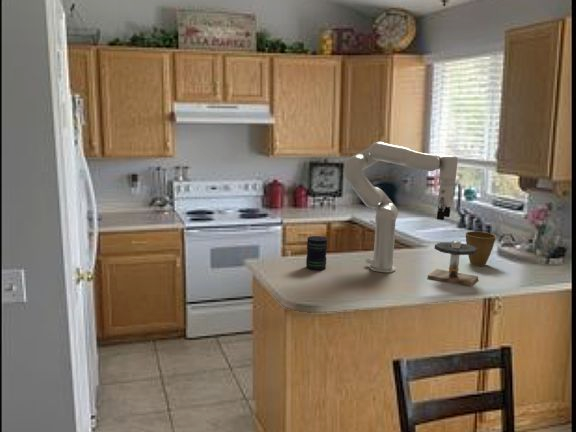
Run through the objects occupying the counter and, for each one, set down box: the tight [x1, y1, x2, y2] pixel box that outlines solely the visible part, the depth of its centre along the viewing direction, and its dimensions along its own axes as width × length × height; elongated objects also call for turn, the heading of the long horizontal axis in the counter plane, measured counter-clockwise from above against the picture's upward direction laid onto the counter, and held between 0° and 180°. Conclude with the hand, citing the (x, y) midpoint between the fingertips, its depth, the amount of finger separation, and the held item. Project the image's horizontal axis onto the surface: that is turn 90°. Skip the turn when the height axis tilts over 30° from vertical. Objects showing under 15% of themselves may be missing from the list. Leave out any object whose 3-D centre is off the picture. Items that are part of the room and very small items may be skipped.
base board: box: [426, 268, 479, 287], centre depth 266 cm, size 20×14×2 cm
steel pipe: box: [448, 240, 462, 277], centre depth 265 cm, size 4×4×16 cm
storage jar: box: [305, 235, 328, 272], centre depth 275 cm, size 10×10×15 cm
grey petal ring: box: [434, 241, 477, 256], centre depth 264 cm, size 18×18×2 cm
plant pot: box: [465, 230, 497, 267], centre depth 294 cm, size 15×15×16 cm
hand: (443, 218), depth 266 cm, fingers open, 9 cm apart
